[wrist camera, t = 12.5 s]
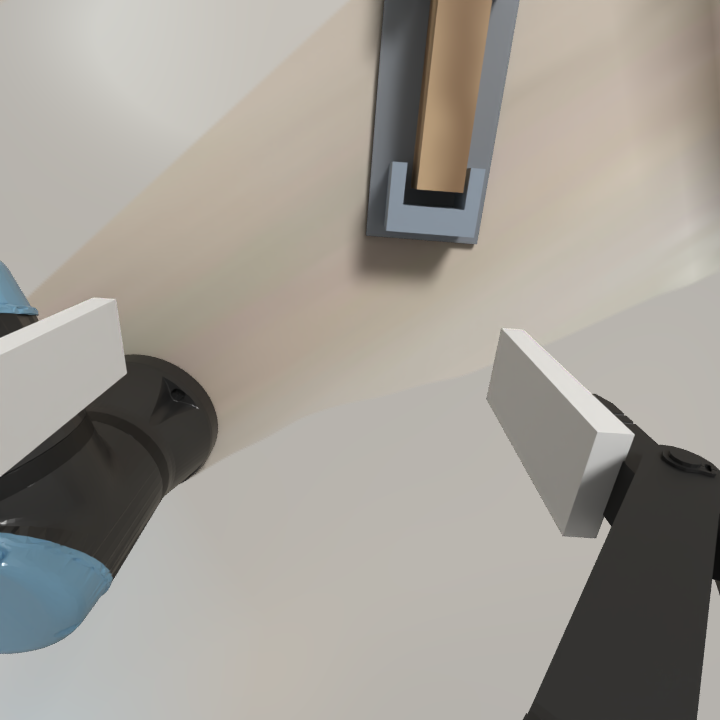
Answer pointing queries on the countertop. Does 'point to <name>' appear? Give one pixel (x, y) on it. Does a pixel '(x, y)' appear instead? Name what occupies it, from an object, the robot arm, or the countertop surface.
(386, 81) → the endcap rail
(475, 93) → the brown long rectangular block
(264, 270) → the countertop surface
